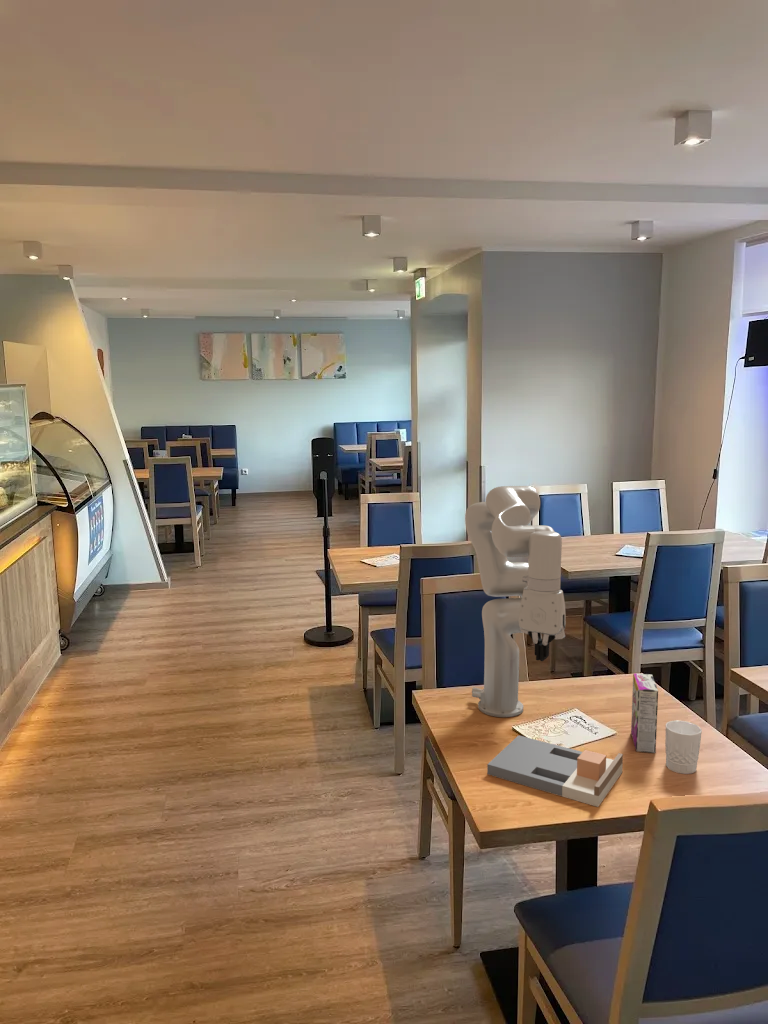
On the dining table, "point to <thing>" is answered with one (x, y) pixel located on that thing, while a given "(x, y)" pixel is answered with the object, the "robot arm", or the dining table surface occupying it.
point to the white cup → (682, 746)
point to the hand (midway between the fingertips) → (541, 659)
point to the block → (591, 765)
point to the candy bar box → (644, 713)
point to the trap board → (552, 770)
